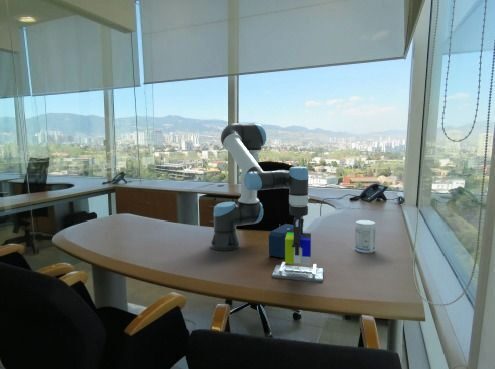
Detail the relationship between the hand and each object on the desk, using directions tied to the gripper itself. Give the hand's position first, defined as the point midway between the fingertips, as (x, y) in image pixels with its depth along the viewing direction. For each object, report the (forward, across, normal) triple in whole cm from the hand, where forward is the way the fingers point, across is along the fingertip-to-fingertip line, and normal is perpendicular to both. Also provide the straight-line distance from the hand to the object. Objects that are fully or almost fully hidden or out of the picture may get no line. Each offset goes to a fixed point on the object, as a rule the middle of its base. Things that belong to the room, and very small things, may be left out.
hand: (298, 257), depth 131 cm
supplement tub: (+7, +37, -30) cm, 48 cm away
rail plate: (+7, 0, 0) cm, 7 cm away
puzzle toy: (+1, 0, 0) cm, 1 cm away
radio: (+7, +26, +9) cm, 29 cm away
